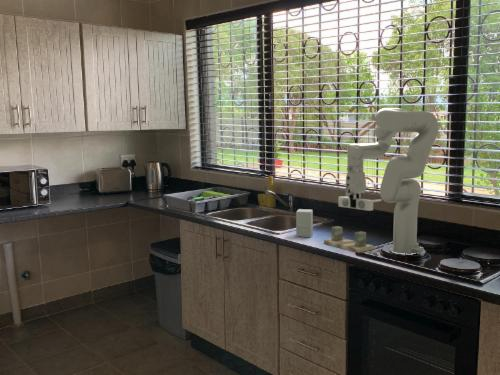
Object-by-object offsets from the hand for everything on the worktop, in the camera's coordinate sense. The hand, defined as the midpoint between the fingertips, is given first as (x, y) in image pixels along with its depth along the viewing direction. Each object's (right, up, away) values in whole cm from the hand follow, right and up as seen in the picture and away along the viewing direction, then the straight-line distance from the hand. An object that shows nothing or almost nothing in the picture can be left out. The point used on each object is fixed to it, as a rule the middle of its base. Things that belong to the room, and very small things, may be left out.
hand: (355, 206), depth 242 cm
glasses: (+2, 0, +2) cm, 3 cm away
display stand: (-7, -17, -17) cm, 25 cm away
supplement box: (-24, -14, +5) cm, 28 cm away
